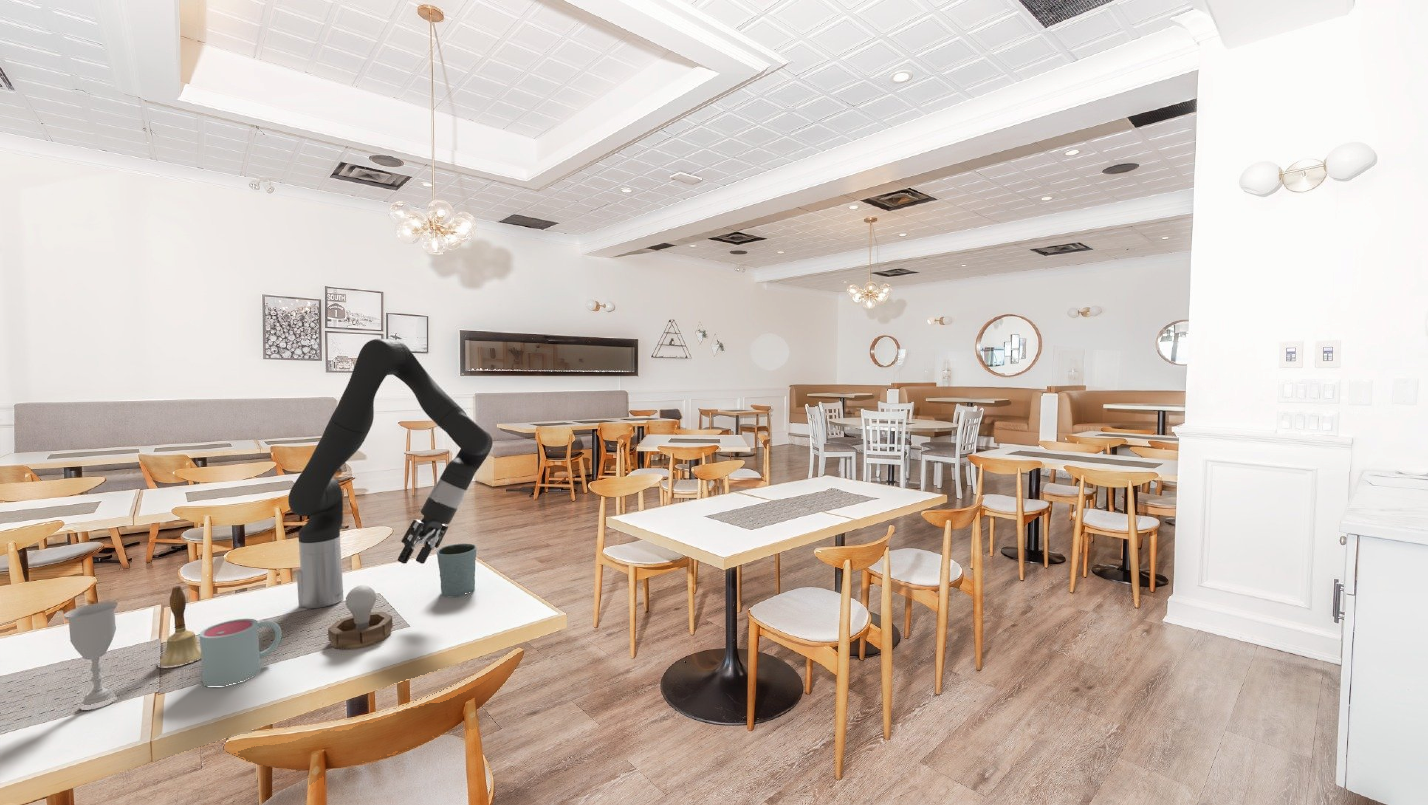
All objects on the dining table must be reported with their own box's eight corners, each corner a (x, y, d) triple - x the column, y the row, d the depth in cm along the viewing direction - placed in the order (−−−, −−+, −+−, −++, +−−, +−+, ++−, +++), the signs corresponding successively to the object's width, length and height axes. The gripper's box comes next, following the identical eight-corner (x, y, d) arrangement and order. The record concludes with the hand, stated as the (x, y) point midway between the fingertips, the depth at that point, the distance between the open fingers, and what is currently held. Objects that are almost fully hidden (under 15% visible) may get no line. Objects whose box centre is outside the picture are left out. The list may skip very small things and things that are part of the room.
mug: (214, 692, 118) (210, 642, 117) (195, 680, 123) (191, 631, 122) (293, 662, 129) (290, 616, 129) (273, 652, 134) (270, 607, 134)
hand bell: (151, 672, 126) (145, 596, 125) (164, 656, 134) (159, 584, 133) (202, 663, 130) (197, 589, 129) (212, 647, 137) (207, 577, 136)
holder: (320, 651, 134) (319, 635, 134) (345, 628, 146) (345, 614, 146) (378, 647, 136) (377, 631, 136) (399, 624, 148) (398, 610, 147)
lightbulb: (364, 639, 137) (362, 591, 137) (340, 638, 139) (338, 590, 138) (384, 628, 143) (381, 582, 143) (361, 626, 144) (358, 581, 144)
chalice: (97, 694, 118) (90, 602, 117) (135, 692, 118) (128, 600, 117) (60, 715, 111) (52, 618, 110) (100, 713, 111) (93, 616, 110)
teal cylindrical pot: (465, 582, 177) (463, 541, 176) (485, 589, 171) (484, 546, 170) (431, 593, 168) (429, 550, 168) (451, 601, 162) (449, 556, 162)
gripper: (444, 498, 161) (412, 556, 157) (417, 491, 147) (381, 555, 143) (468, 509, 160) (437, 568, 156) (443, 504, 146) (408, 569, 142)
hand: (410, 562), depth 150 cm, fingers open, 8 cm apart
